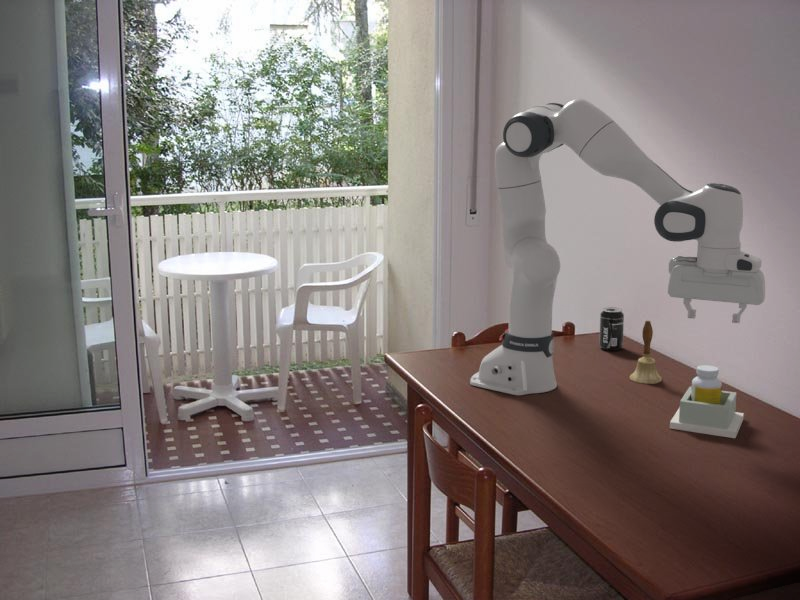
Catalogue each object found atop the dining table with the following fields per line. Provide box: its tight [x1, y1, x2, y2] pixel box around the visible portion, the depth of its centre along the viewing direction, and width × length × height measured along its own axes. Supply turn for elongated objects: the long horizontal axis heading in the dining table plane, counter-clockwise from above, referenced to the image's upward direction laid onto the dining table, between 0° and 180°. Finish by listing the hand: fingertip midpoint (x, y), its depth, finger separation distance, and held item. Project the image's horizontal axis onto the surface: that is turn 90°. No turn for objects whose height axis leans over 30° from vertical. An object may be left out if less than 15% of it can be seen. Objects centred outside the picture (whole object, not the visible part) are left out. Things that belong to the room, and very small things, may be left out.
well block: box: [669, 386, 745, 439], centre depth 200 cm, size 14×13×6 cm
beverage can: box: [598, 306, 625, 352], centre depth 261 cm, size 7×7×12 cm
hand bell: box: [629, 320, 663, 385], centre depth 231 cm, size 8×8×16 cm
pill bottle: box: [691, 364, 723, 405], centre depth 199 cm, size 6×6×12 cm
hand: (713, 320), depth 195 cm, fingers open, 8 cm apart
